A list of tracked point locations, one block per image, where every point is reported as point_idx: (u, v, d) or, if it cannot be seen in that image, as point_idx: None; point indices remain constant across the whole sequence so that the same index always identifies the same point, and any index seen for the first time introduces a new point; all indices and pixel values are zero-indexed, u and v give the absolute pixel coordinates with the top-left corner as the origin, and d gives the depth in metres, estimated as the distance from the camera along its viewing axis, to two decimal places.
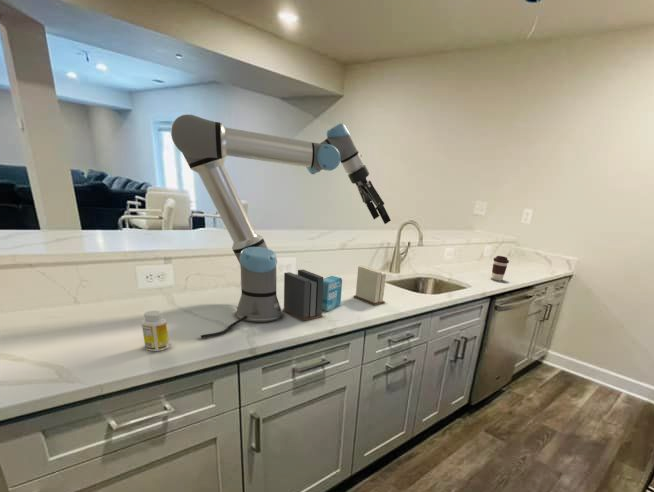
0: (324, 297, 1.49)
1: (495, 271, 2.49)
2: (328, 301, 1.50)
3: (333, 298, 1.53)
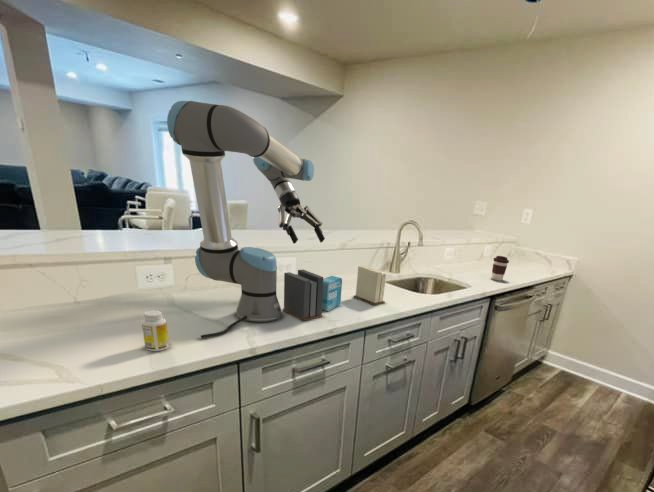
0: (324, 297, 1.49)
1: (495, 271, 2.49)
2: (328, 301, 1.50)
3: (333, 298, 1.53)
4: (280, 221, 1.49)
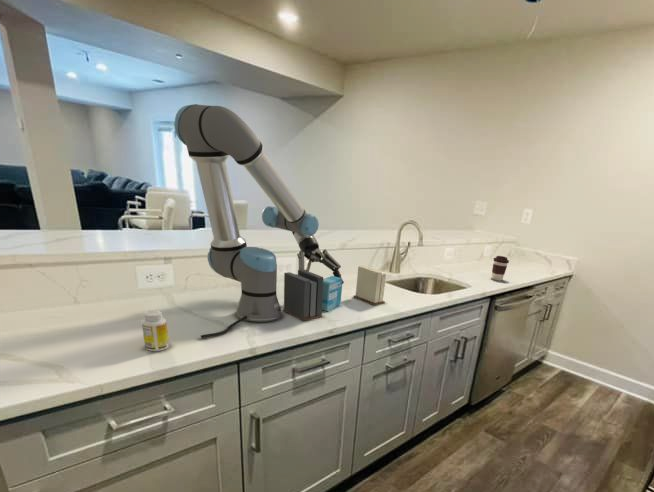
0: (325, 297, 1.49)
1: (495, 271, 2.49)
2: (328, 301, 1.50)
3: (333, 299, 1.53)
4: (300, 268, 1.48)
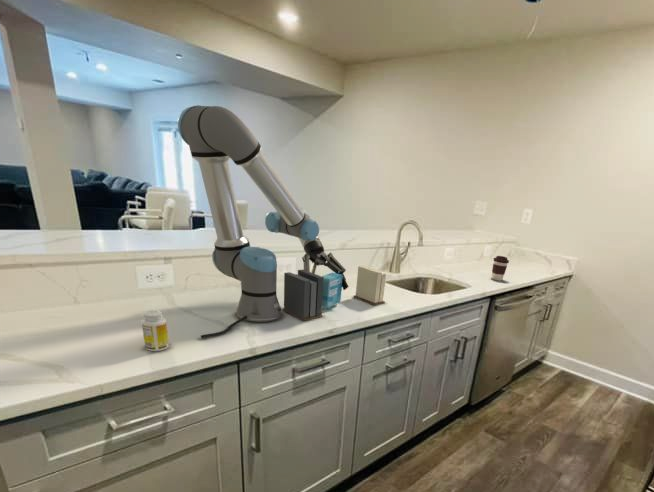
0: (325, 293, 1.49)
1: (495, 271, 2.49)
2: (329, 298, 1.50)
3: (333, 295, 1.53)
4: None
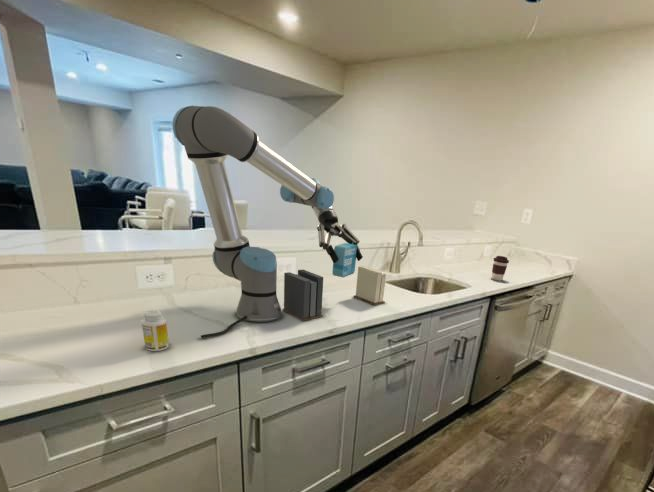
0: (340, 262, 1.49)
1: (495, 271, 2.49)
2: (344, 267, 1.50)
3: (348, 265, 1.53)
4: (320, 241, 1.47)
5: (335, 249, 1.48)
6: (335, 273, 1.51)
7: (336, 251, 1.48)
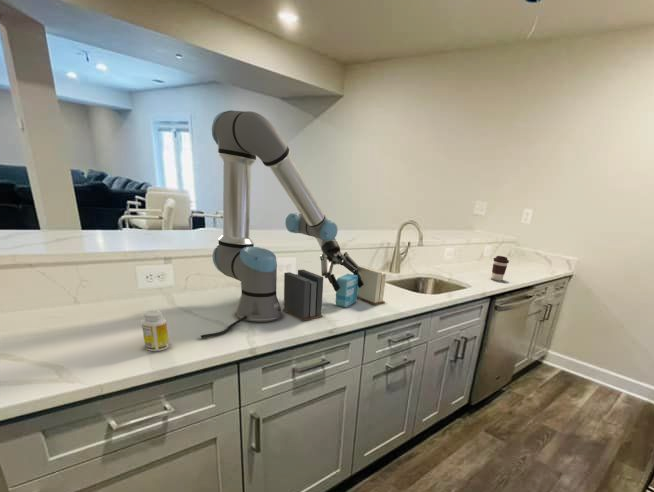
0: (343, 293, 1.56)
1: (495, 271, 2.49)
2: (346, 298, 1.57)
3: (350, 295, 1.60)
4: (323, 270, 1.54)
5: (337, 281, 1.55)
6: (339, 303, 1.58)
7: (338, 283, 1.55)
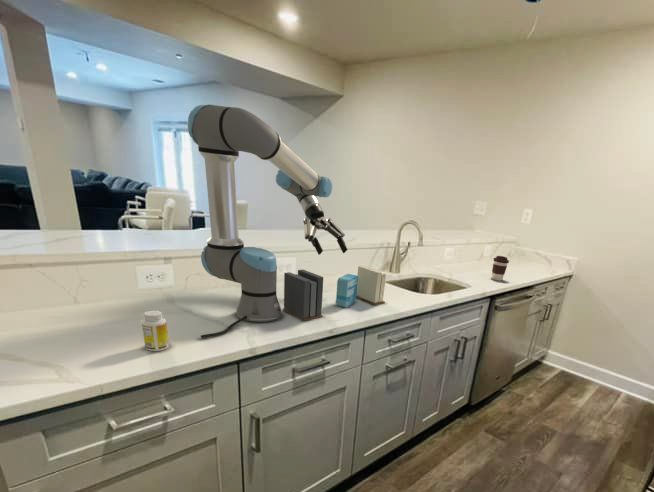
0: (343, 294, 1.56)
1: (495, 271, 2.49)
2: (347, 298, 1.57)
3: (350, 295, 1.61)
4: (306, 233, 1.55)
5: (338, 281, 1.55)
6: (339, 303, 1.58)
7: (339, 283, 1.55)
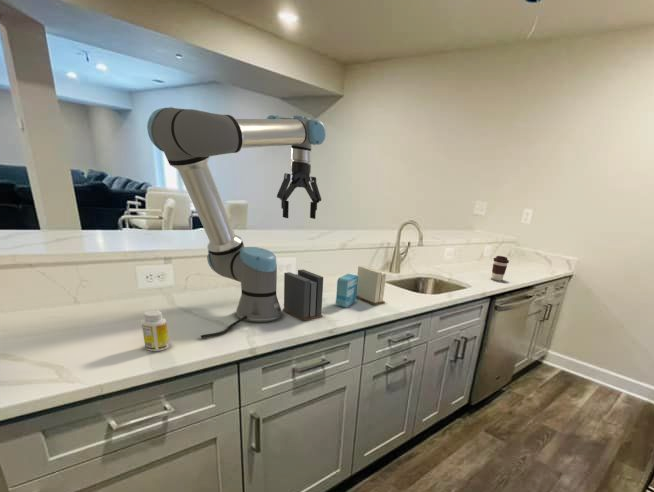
0: (343, 294, 1.56)
1: (495, 271, 2.49)
2: (347, 298, 1.57)
3: (350, 295, 1.61)
4: (280, 193, 1.47)
5: (338, 281, 1.55)
6: (339, 303, 1.58)
7: (339, 283, 1.55)
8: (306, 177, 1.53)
